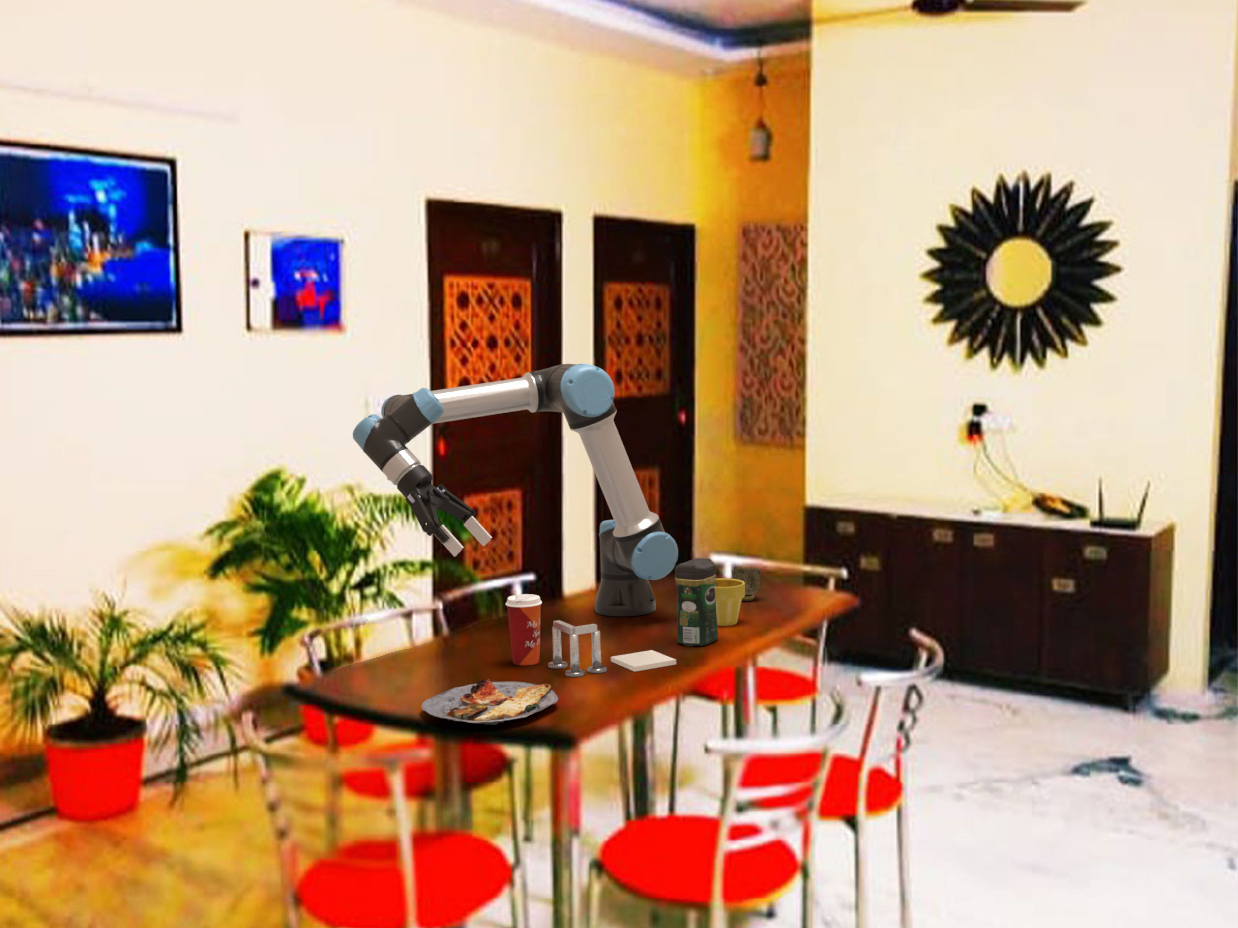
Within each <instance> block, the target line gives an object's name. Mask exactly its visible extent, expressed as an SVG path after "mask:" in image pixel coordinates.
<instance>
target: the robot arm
mask: <svg viewBox="0 0 1238 928" xmlns="http://www.w3.org/2000/svg"><path fill="white" fill-rule="evenodd" d="M615 391H616V390H615V385H614V381H613V380H612V379H611V377H610V375H609V374H608V373H607V372H606V371H605V370H604V369H602V368H601V367H599V366H595V365H593V364H591V363H579V364H577V363H575V364H574V363H563V364H557V365H554V366H551V367H548V368H543V369H540V370H534V371H527V372H525V373H524V375H523V376H522V377H517V378H511V379H510V378H509V379H504V380H496V381H490V382H485V383H484V382H483V383H477V384H469V385H463V386H462V385H461V386H457V387H449V388H442V389H437V390H430V389H429V388H426V387H422V388H420V389H419V390H417V391H416V392H413V393H410V394H409V393H408V394H395V395H391V396H389V397H388V398H386V399H385V400H384V401H383V403H382V405H381V409H380V410H381V411H380V415H381V416H379V415H378V414H376V413H375V414H373V413H372V414H369V415H367V416H366V417H364V418H363V419H362V420H361V421H360V422H358V423H357V424H356V426H354V429H353V431H352V439H353V440H354V442H356V444H357V445H358V446H359V447H360V449H361V450H362V451H363V453H364V454H366V456H367V457H368V458H369V459H370V460H371V461H372V462H373V464H375V466H376V467H378V469H379V470H380V472H382V473H383V475H384V476H385V477H386V480H387V481H388V482H389V481H390V482H391V483H392V484H393V485H394V486H396V489H397V490H398V491H399V492H400V493H401V495H403V497H404V498H405V499H404V500H405V501H406V503H407V504H408V505H409V506H410V508H411V510H412V512H413V513H414V516H415V518H416V520H417V522H418V524H419V526H420V528H421V530H422V531H423V533H426V534H427V535H428V536H429V537H431V536H432V535H434V536H435V537H436V538H437V539H438V540H439V541H440V542H441V544H443V546H444V547H445V548H446V549H447V550H448V551H449V553H450V554H451V555H452V556H453V557H454V558H455V557H457V555H459V554H460V553H461V551H462V550H463V549H464V546H463V545H462V543H461V542H460V541H459V540H458V539H457V538H456V537H455V535H453V534H452V533H451V531H450V530H449V529H448V528H447V527H446V526H445V524H441V523H440V520H439V517H438V513H437V510H438V511H444V512H445V513H447V514H449V516H453V517H454V518H456V519H457V520H459V521H461V522H462V523H463V526H464V527H465V528H466V529H467V531H468V532H469V533H470V534H471V535H472V536H473V537H474V538H475V539H476V541H478V542H479V543H480V545H481V546H482V547H485V546H486V545H487V544H488V543H489V542H490V541H491V540H492V539H493V537H492V535H491V534H490V533H489V532H488V531H487V530H486V529H485V528H484V527H483V526H482V525H481V523H479V521H478V520H477V519H476V518H475V517H474V516H475V515H476V510H475V509H473V508H472V507H471V506H469V505H468V504H466V502H464V501H463V500H461V499H460V498H458V496H456V495H455V494H453V493H452V492H451V491H449V490H448V489H447V488H446V487H445V486H444V485H443V484H442V483H441V484H439V485H438V486H437V487H436V486H435V485H434V484H433V483H432V482H433V480H434V476H433V475H434V474H432V473H431V471H429V470H428V468H427V467H426V466H425V465H423V464H422V463H421V460H419V458H418V457H417V456H416V455H415V454H414V453H413V452H412V450H411V449H409V448H408V447H407V446H406V445H407V444H408V443H410V442H411V441H412V440H413V439H415V438H416V437H417V436H418V435H420V434H421V433H423V431H424V430H426V429H428V428H429V427H430V426H431V425H433V424H438V423H439V424H441V423H446V422H453V421H459V420H465V419H466V420H467V419H472V418H478V417H486V416H491V415H497V414H503V413H505V414H506V413H510V412H518V411H519V412H520V411H525V410H527V411H529V412H530V413H538V412H540V413H541V412H553V413H555V412H556V413H562V414H563V415H564V418H565V419H566V422H567V425H568V427H569V429H570V431H573V432H575V433H577V434H578V435H579V437H580V439H581V442H582V445H583V447H584V449H585V450H584V451H585V452H586V454H587V458H588V460H589V462H590V465H591V466H592V469H593V471H594V473H595V476H596V477H595V478H597V481H598V485H599V486H600V489H601V491H602V494H603V496H604V498H605V501H606V504H607V506H608V508H609V511H610V513H611V516H612V518H613V519H608V520H603V521H602V522H600V524H599V533H598V537H599V553H600V554H599V555H600V584H599V587H598V591H597V593H596V598H595V601H594V612H596V614H599V615H602V616H607V617H635V616H643V615H647V614H650V613H654V612H655V611H656V609H657V605H656V597H655V595H654V592H653V589H652V587H651V584H650V580H651V581H655V580H660V579H662V578H665V577H667V575H669V574H671V572H672V571H673V570H674V569H675V567H676V563H677V561H678V558H679V548H678V544H677V542H676V540H675V539H674V537H672V536H671V534H669V533H668V532H666V531H665V529H664V527H663V524H662V521H661V519H660V517H659V515H658V514H657V513H655V512H652V511H650V508H649V507H648V506H649V505H648V503H647V501H646V498H645V496H644V494H643V491H642V488H641V486H640V483H639V481H638V479H637V476H636V474H635V471H634V469H633V467H632V464H631V461H630V459H629V456H628V454H627V451H626V448H625V446H624V444H623V441H622V439H621V435H620V434H619V430H618V428H617V426H616V424H615V420H614V419H615V416H616V414H617V411H618V410H617V407H616V406H615V403H614V398H615V394H616V393H615Z"/></svg>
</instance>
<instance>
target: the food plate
mask: <svg viewBox="0 0 1238 928" xmlns="http://www.w3.org/2000/svg"><path fill="white" fill-rule="evenodd" d="M558 701H559V696H558V695H557V694H556V692H555V690H554V689H552V685H551V684H550V683H543V684H536V683H531V682H526V681H513V680H511V681H509V680H508V681H503V680H502V681H491V679H490V678H487V680H485V679H480V680H478V681H477V682H476V683H473V684H471V683H470V684H467V685H464V686H458V687H457V686H456V687H452V688H450V689H447V690H445V691H443V692H440V693H438V694H436V695H433V696H432V697H430V698H427V699H425V700H424V701H423V702H422V704H421V710H422V711H423V712H426V713H428V714H429V715H430V716H433V717H434V718H440V719H447V720H448V721H451V720H452V721H453V722H465V723H468V724H469V723H470V724H477V725H486V726H488V725H491V726H494V725H497V726H498V724H499V723H504V721H512V720H518V719H523V718H527V717H529V716H530V715H533V714H535V713H538V712H541V711H543V710H544V709H546V708H548V707H550V706H551V705H553V704H556V703H557V702H558ZM455 708H457V709H455ZM453 709H454V710H453ZM451 710H453V714H452V716H451V715H449V713H450V712H451ZM473 718H474V719H473ZM470 719H471V720H470ZM472 719H473V720H472Z"/></svg>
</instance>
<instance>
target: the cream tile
mask: <svg viewBox="0 0 1238 928" xmlns="http://www.w3.org/2000/svg"><path fill="white" fill-rule="evenodd" d="M610 662H611V663H614V664H616V665H617V666H620V667H622V668H625V669H627V670H630V671H632V672H640V671H647V670H651V669H657V668H663V667H668V666H674V665H677V659H675V658H673V657H670V656H668V655H665V654H662V653H661V652H658V651H655V650H652V649H649V650H644V651H639V652H632V653H626V654H620V655H614V656H610Z"/></svg>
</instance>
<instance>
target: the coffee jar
mask: <svg viewBox="0 0 1238 928" xmlns="http://www.w3.org/2000/svg"><path fill="white" fill-rule="evenodd" d="M674 571H675V573H674V581H675V586H676V591H677V592H676V598H677V600H676V601H677V609H676V613H677V614H676V617H677V620H676V641H677V643H679V644H681V645H684V646H688V647H694V646H706V645H708V644H710V643H712V642H714V641H716V640H717V639H718V638H719V631H718V630H719V629H718V628H719V626H717V615H716V600H715V580H716V579H717V575H716V573H717V572H716V564H715V563H714V562H713V560H712V559H711V558H702V557H701V558H700V557H695V558H694V559H690V560H688V561H685V562H681V563H679V564H678V565H675V566H674Z"/></svg>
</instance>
